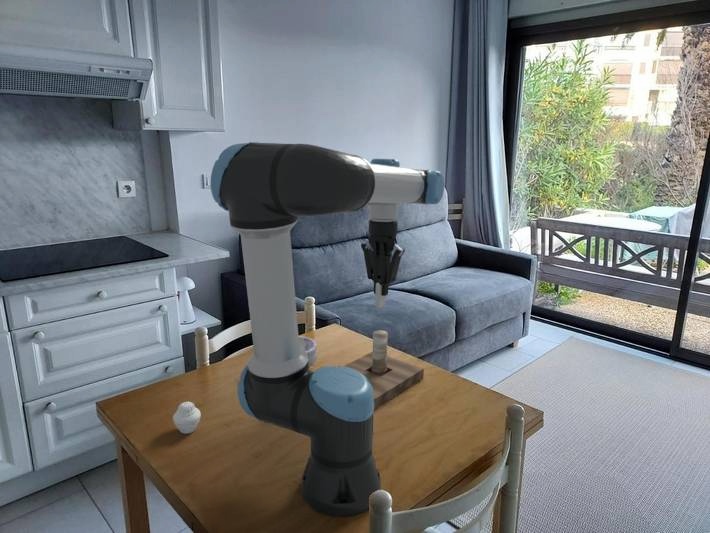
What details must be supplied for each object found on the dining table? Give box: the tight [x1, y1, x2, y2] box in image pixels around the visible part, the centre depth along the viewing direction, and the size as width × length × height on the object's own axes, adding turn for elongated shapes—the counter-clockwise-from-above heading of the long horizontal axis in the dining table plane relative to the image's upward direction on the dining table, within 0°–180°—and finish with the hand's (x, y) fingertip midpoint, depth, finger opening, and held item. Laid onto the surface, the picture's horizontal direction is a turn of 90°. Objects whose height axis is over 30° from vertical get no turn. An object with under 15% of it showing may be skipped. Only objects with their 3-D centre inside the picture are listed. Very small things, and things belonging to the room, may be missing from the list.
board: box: [342, 351, 425, 411], centre depth 138 cm, size 24×18×3 cm
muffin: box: [172, 401, 202, 434], centre depth 114 cm, size 6×6×7 cm
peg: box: [372, 330, 389, 376], centre depth 138 cm, size 4×4×14 cm
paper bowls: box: [298, 335, 318, 369], centre depth 144 cm, size 15×15×8 cm
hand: (380, 306), depth 134 cm, fingers closed
